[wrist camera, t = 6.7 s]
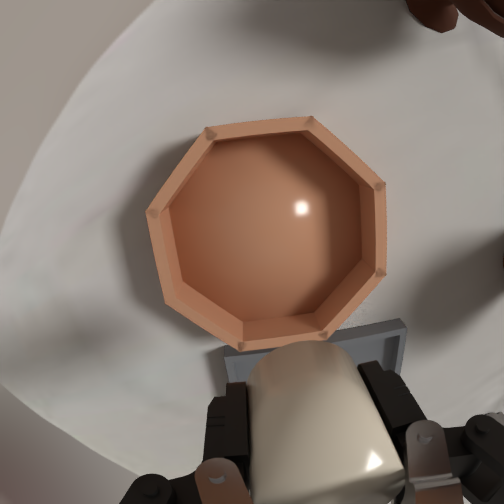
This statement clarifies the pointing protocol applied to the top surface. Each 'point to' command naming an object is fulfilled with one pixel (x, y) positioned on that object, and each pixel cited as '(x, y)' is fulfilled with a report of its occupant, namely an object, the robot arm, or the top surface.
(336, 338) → the tray
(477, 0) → the ice cream bowl
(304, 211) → the terracotta bowl
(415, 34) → the top surface
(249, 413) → the pebble
